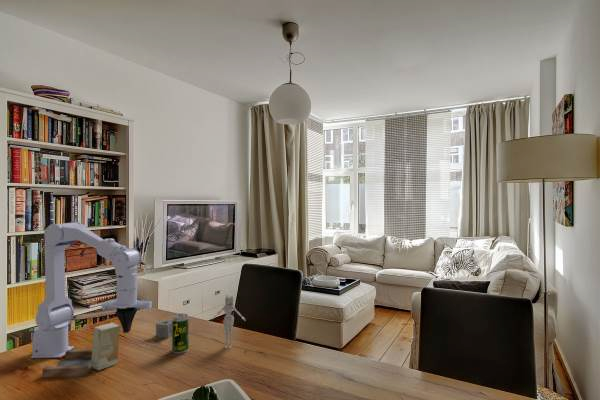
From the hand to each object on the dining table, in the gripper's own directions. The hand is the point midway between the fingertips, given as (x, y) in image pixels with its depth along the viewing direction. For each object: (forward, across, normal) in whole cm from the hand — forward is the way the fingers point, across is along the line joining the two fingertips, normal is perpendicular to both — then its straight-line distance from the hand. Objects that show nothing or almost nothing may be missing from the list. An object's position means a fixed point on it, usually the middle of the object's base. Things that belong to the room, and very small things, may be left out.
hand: (126, 331), depth 114 cm
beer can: (+11, +14, +10) cm, 20 cm away
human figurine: (+11, +30, +12) cm, 34 cm away
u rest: (+10, -15, 0) cm, 18 cm away
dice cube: (+11, +5, +24) cm, 26 cm away
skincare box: (+10, -7, 0) cm, 12 cm away
